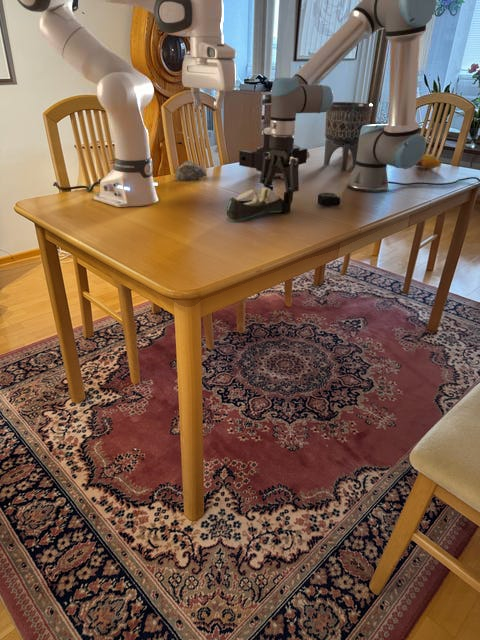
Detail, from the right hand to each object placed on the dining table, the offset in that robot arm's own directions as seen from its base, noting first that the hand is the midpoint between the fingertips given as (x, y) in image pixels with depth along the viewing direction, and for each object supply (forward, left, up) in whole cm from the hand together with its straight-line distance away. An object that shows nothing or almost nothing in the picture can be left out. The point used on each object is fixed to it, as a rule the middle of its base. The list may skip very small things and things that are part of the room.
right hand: (277, 209), depth 149 cm
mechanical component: (-1, -55, 0) cm, 55 cm away
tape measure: (-17, -7, 0) cm, 19 cm away
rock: (+35, -39, 0) cm, 52 cm away
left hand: (+21, +7, +31) cm, 38 cm away
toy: (-69, -79, 0) cm, 105 cm away
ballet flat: (+6, +6, 0) cm, 8 cm away
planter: (-30, -73, 0) cm, 79 cm away
